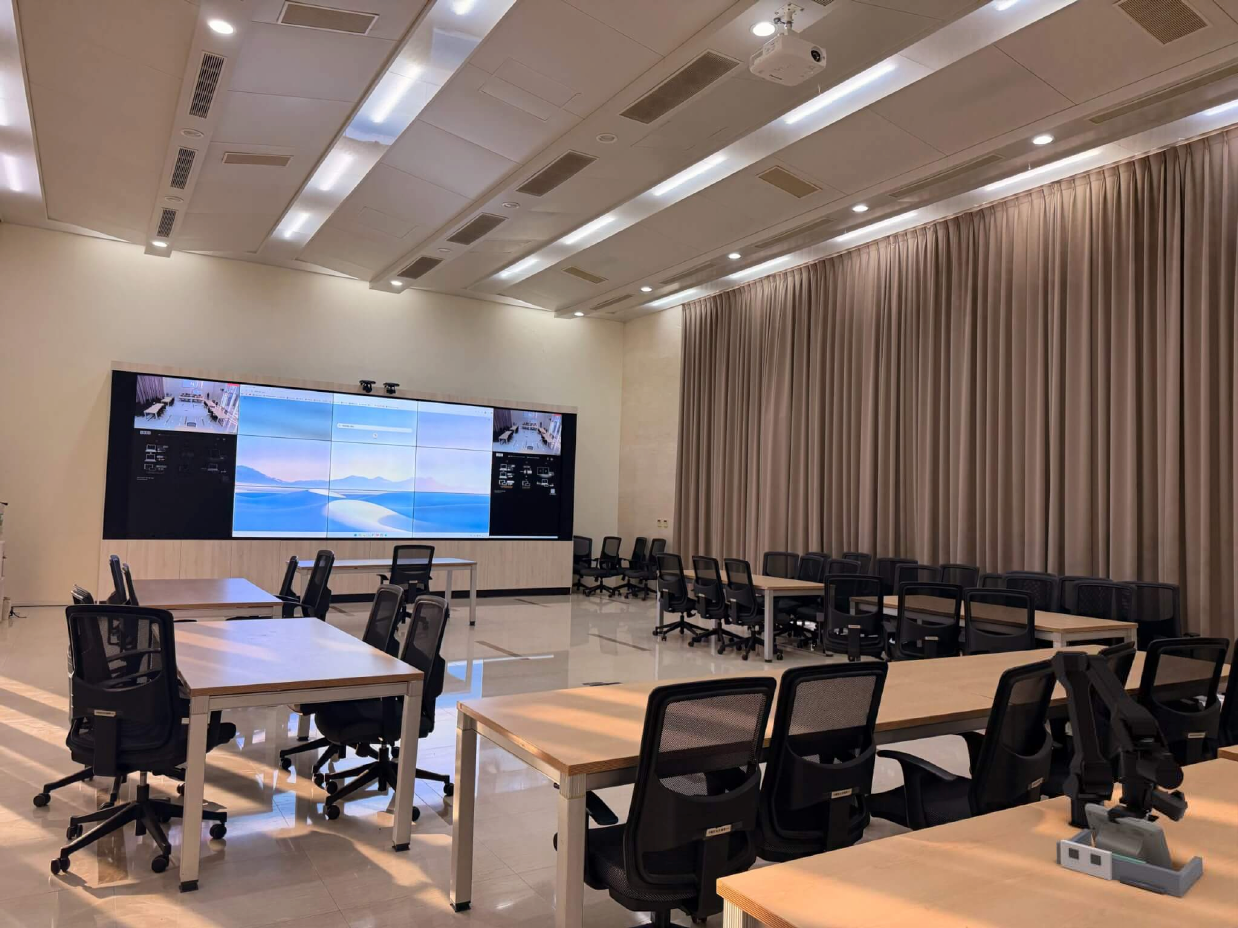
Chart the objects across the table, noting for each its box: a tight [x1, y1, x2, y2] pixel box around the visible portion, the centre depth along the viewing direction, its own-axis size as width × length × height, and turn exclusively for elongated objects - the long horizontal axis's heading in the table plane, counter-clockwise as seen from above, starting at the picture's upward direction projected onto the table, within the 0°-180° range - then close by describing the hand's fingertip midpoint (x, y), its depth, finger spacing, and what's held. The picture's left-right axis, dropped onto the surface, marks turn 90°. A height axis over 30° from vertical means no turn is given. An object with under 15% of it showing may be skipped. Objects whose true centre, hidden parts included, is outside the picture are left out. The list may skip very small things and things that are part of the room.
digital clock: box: [1085, 804, 1175, 871], centre depth 170 cm, size 16×9×11 cm, turn 14°
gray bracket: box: [1056, 828, 1204, 898], centre depth 168 cm, size 21×18×5 cm
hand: (1139, 850), depth 174 cm, fingers closed
